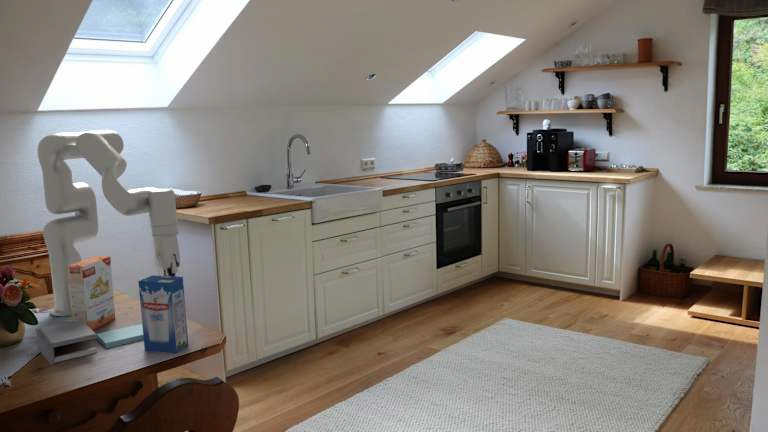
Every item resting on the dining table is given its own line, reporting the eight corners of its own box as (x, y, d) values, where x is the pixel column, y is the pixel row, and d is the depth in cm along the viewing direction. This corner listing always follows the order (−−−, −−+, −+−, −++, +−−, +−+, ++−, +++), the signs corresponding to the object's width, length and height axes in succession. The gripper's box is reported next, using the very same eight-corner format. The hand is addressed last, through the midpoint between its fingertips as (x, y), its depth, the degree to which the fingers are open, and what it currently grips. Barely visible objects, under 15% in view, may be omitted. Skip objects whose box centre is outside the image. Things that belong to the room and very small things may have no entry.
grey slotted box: (38, 348, 186) (35, 329, 185) (83, 338, 193) (81, 319, 193) (50, 364, 174) (47, 344, 173) (97, 353, 181) (95, 333, 180)
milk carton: (188, 345, 185) (183, 276, 182) (176, 353, 179) (170, 282, 176) (157, 343, 188) (151, 275, 184) (144, 351, 182) (138, 281, 179)
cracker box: (89, 333, 198) (82, 266, 194) (72, 332, 199) (64, 265, 195) (117, 318, 211) (111, 255, 208) (100, 318, 212) (94, 255, 209)
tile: (96, 340, 193) (96, 334, 193) (151, 328, 203) (150, 321, 202) (106, 349, 185) (105, 343, 185) (162, 336, 195) (162, 330, 195)
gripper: (144, 229, 200) (150, 287, 203) (161, 235, 188) (167, 296, 191) (168, 225, 205) (174, 282, 208) (186, 231, 193) (192, 291, 196)
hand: (171, 289), depth 199 cm, fingers closed
